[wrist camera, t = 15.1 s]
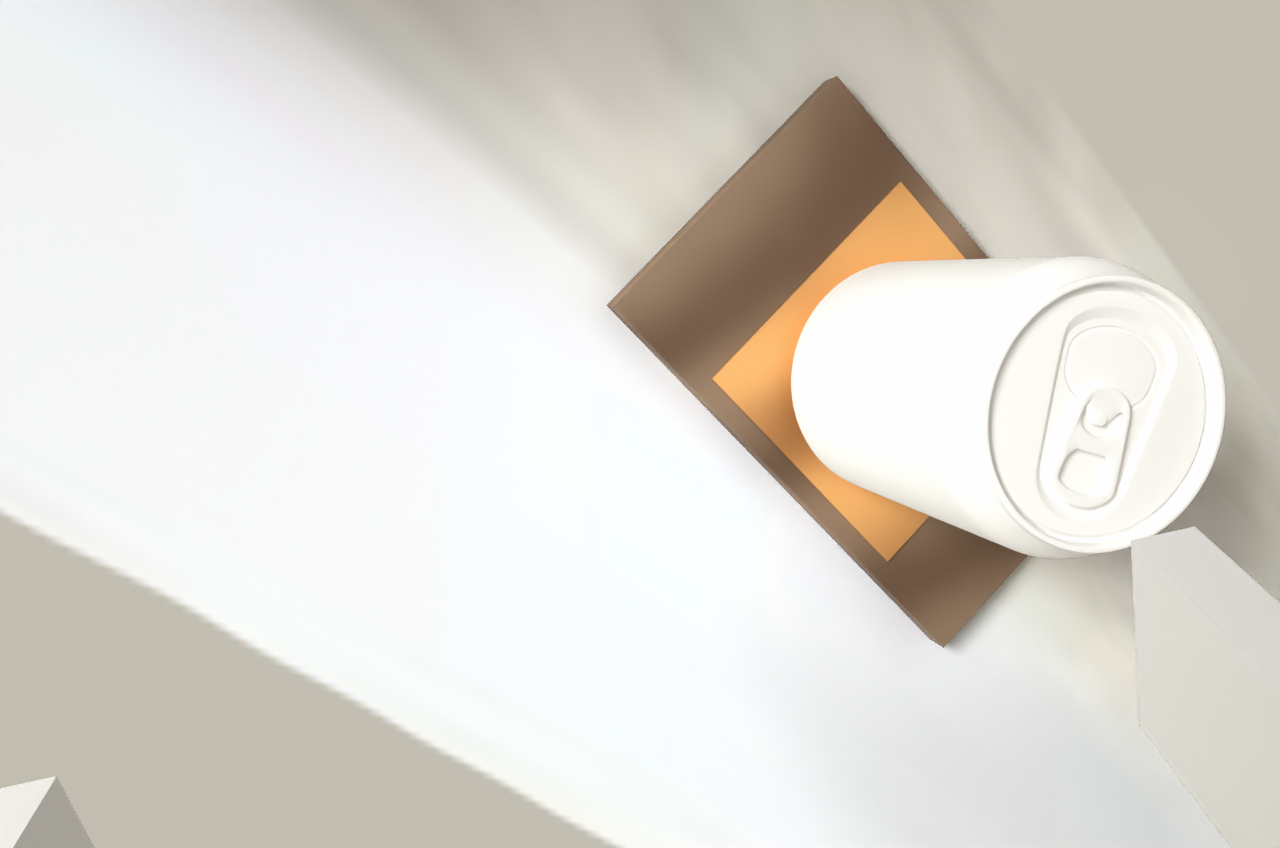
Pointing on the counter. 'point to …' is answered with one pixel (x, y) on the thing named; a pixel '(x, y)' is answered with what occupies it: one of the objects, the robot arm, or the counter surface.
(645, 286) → the label board
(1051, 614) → the counter surface
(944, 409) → the beverage can
